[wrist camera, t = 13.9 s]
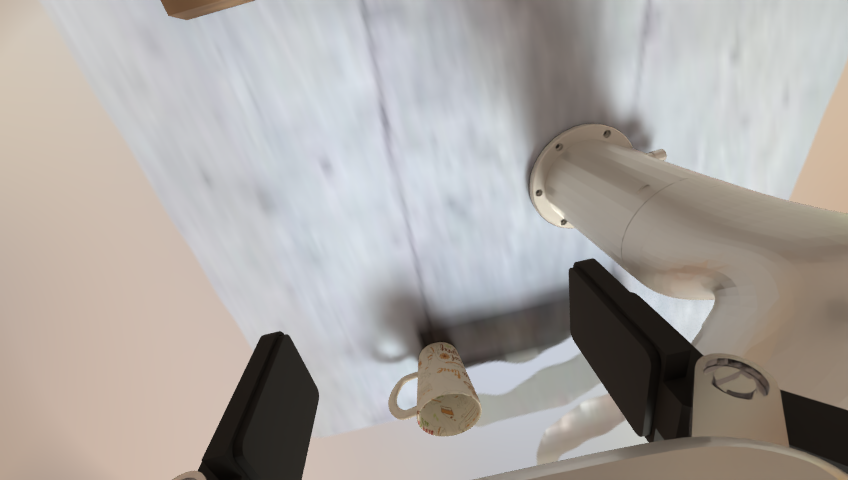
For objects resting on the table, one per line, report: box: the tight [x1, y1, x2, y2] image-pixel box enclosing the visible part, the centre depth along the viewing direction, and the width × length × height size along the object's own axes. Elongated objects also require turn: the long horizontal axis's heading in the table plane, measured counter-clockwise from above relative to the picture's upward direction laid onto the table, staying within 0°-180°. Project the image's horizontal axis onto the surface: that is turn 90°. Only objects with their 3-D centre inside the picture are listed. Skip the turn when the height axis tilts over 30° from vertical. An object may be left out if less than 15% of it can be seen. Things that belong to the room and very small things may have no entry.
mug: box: [388, 342, 482, 436], centre depth 48 cm, size 8×13×10 cm, turn 115°
